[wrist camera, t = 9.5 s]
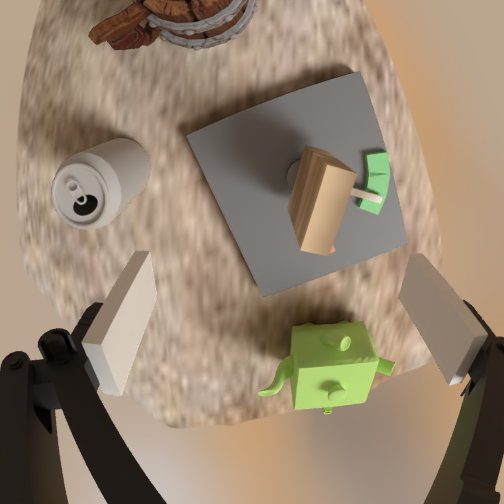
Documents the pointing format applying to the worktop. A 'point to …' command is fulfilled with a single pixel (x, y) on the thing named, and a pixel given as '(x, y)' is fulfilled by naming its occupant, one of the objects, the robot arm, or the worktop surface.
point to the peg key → (320, 198)
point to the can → (99, 183)
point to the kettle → (329, 365)
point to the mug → (176, 23)
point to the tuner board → (276, 186)
